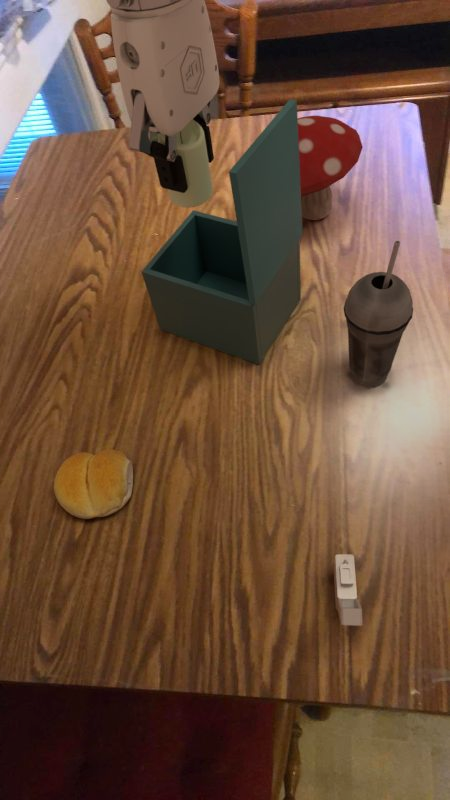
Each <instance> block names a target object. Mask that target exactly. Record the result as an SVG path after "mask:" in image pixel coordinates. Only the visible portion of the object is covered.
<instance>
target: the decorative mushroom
mask: <svg viewBox="0 0 450 800" xmlns="http://www.w3.org/2000/svg"><path fill="white" fill-rule="evenodd" d="M297 119H298V142H299V165H300V188H301V210H302V218H303V219H306V220H310V221H316V220H323V219H324V218H326V217H327V216H328V215H329V214H330V213H331V212H332V206H333V204H332V203H333V193H332V189H331V187H330V186H332V185H333V184H335V183H337V182H339V181H341V180H342V179H344V178H345V177H346V175H347V174H348V173H349V172H350V171H351V170H352V169H353V168H354V167H355V165H356V164H357V163H358V162H359V160H360V157H361V153H362V151H363V143H362V140H361V136H360V135H359V132H358V131H357V130H356V129H355V128H353V127H352V126H350V125H348V124H347V123H345V122H344V121H341V120H340V119H338V118H335V117H331V116H324V115H323V116H322V115H306V116H301V117H297Z"/></svg>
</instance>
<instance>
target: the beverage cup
mask: <svg viewBox="0 0 450 800" xmlns="http://www.w3.org/2000/svg"><path fill="white" fill-rule="evenodd" d="M400 245H401V241H400V240H395V241H394V244H393V247H392V251H391V254H390V259H389V261H388V262H389V263H388V265H387V270H386V272H385V271H374V272H371V273H368V274H366V275H364V276H362V277H360V278H359V279H357V281H356V282H355V283H354V284H353V286H351V288H350V289H349V291H348V293H347V295H346V298H345V301H344V305H343V314H344V318H345V321H346V326H347V343H348V366H349V375H350V378H351V380H352V381H353V382H354V383H355V384H356V385H357V386H360V387H362V388H366V389H374V388H377V387H380V386H382V385H383V384H384V383H385V382H386V380H387V378H388V376H389V373H390V372H391V369H392V366H393V363H394V360H395V358H396V354H397V352H398V350H399V349H398V348H399V346H400V343H401V340H402V337H403V335H404V332H405V331H406V329H407V327H408V325H409V324H410V322H411V320H412V319H413V315H414V306H413V305H414V302H413V297H412V293H411V291H410V288H409V287H408V285H407V284H406V283H405V281H404V280H402V278H400V277H399V276H397V275H396V274H393V271H394V267H395V263H396V260H397V257H398V252H399V248H400Z"/></svg>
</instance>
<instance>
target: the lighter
mask: <svg viewBox="0 0 450 800" xmlns="http://www.w3.org/2000/svg"><path fill="white" fill-rule="evenodd" d="M355 563H356V562H355V556H354V555H353V554H352V553H351V554H350V553H349V554H346V553H345V554H343V553H342V554H341V553H340V554H339V553H338V554H337V553H336V555H335V556H334V564H333V584H334V600H335V601H334V603H335V610H336V611H337V613H338V618H339V621H340V625H341V626H363V607H362V606H361V603H360V601H359V600H358V591H357V590H358V589H357V578H356V576H357V575H356V564H355Z"/></svg>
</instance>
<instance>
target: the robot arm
mask: <svg viewBox="0 0 450 800" xmlns="http://www.w3.org/2000/svg"><path fill="white" fill-rule="evenodd" d="M106 3H107V4H108V5H109V7H110V10H111V14H110V27H111V34H112V35H111V36H112V43H113V50H114V56H115V62H116V67H117V68H116V69H117V72H118V78H119V82H120V83H119V84H120V88H121V91H122V96H123V100H124V104H125V108H126V111H127V114H128V118H129V120H130V122H131V123H130V129H129V131H130V132H129V139H128V147H129V148H128V149H129V150H130V151H134V152H138V153H142V154H145V155H147V156H148V157H150V158H153V160H154V161H153V162H154V165H155V169H156V173H157V178H158V181H159V185H160V187H161V188H162V189H166V190H168V189H169V190H173V191H177V192H181V193H185V192H186V190H187V189H188V186H187V181H186V176H185V171H184V166H183V161H182V157H181V156H178V155H177V146H176V135H177V134H178V133H179V132H180V131H181V130H183V129H184V128H185V127H186V126H187V125H188V123H189V122H190V121H191V120H192V119H193V120H195V121H196V122H197V123H199V125H200V126H201V127H202V129H203V131H204V135H205V141H206V148H207V154H208V161H209V164H211V163H212V162H213V161H214V159H215V156H214V150H213V149H214V148H213V143H212V142H213V141H212V136H211V129H210V126H209V125H210V123H211V120H212V115H211V111H210V105H211V101H212V99H213V98H214V97H215V96H216V95H217V93H218V91H219V89H220V84H221V83H220V80H221V79H220V72H219V71H220V70H219V63H218V59H217V58H218V57H217V52H216V47H215V45H216V44H215V41H214V36H213V31H212V26H211V19H210V15H209V11H208V8H207V5H206V1H205V0H106ZM158 133H159V134H164V135H165V145H163V144H161V143H159V142H158Z"/></svg>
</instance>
